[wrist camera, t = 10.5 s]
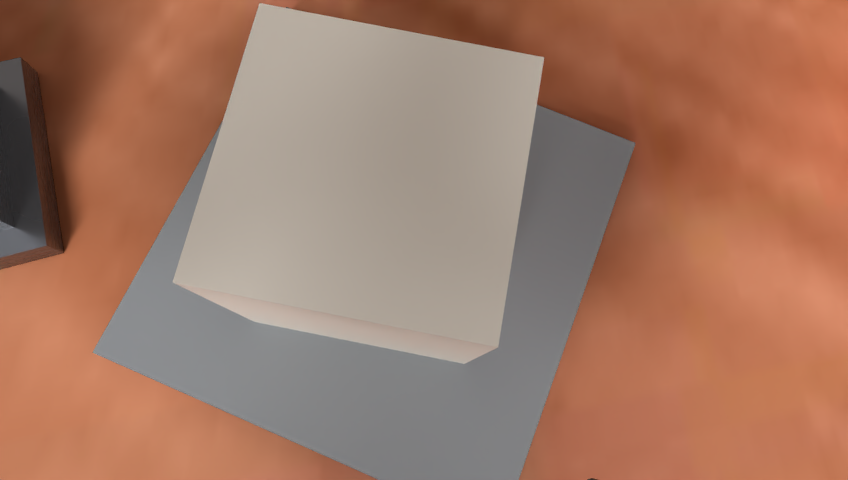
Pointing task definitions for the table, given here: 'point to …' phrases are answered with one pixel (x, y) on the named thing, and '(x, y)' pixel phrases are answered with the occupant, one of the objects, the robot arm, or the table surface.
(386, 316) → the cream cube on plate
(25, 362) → the table surface
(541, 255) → the mat
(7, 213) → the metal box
